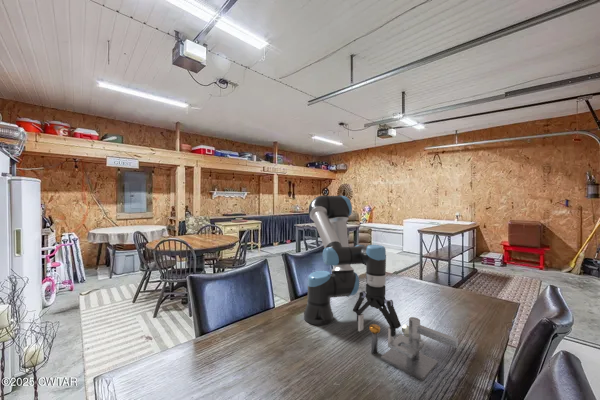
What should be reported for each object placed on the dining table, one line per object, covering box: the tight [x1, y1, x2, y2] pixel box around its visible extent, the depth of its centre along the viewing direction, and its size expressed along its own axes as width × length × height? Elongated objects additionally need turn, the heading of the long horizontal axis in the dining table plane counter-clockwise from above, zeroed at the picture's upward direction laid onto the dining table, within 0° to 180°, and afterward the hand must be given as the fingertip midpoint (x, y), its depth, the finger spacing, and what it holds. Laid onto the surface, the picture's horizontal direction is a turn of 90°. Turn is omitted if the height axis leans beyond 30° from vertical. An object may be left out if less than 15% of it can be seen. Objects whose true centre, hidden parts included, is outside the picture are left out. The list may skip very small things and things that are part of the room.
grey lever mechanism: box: [380, 316, 459, 382], centre depth 96 cm, size 23×15×15 cm, turn 42°
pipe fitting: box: [401, 324, 422, 340], centre depth 117 cm, size 8×4×7 cm
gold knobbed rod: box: [368, 323, 381, 355], centre depth 105 cm, size 4×4×10 cm
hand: (375, 336), depth 104 cm, fingers open, 13 cm apart
